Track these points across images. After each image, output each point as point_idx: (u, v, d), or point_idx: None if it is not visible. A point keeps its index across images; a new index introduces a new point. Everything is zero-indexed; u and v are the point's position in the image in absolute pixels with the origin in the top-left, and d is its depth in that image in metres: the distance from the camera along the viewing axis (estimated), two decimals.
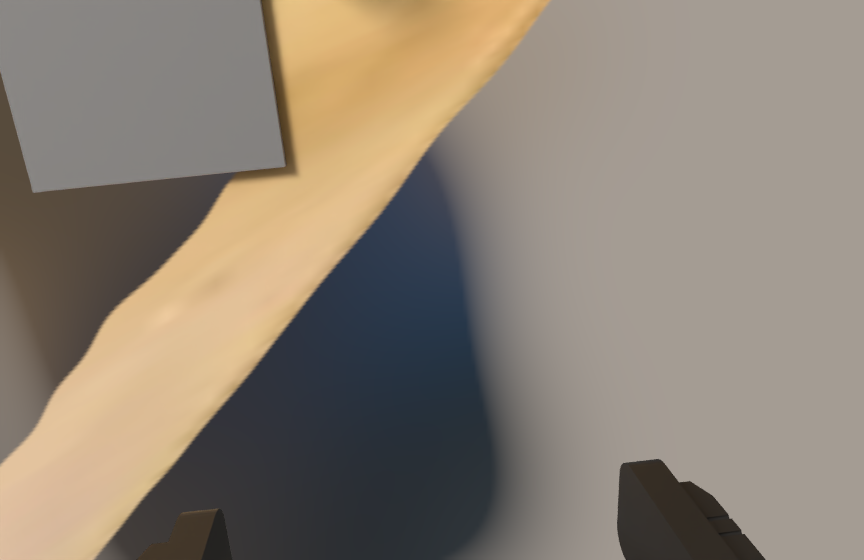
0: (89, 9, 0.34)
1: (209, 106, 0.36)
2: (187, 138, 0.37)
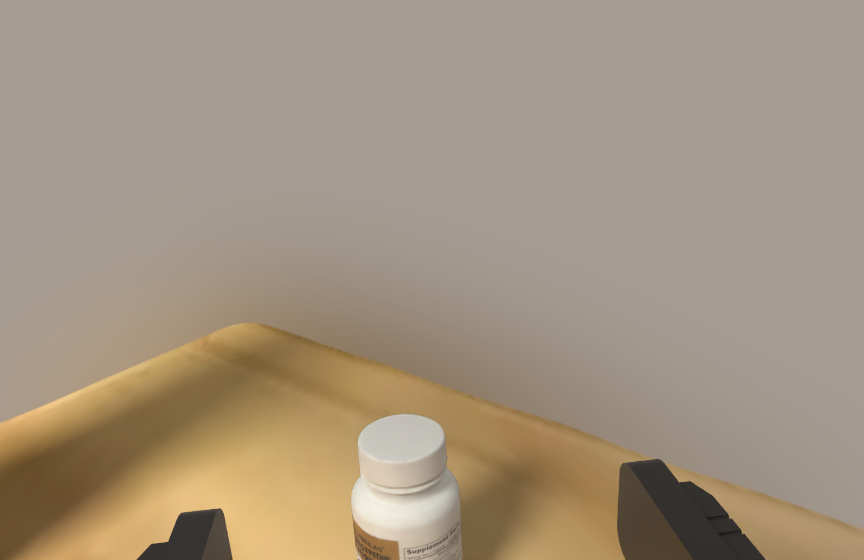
0: None
1: None
2: None
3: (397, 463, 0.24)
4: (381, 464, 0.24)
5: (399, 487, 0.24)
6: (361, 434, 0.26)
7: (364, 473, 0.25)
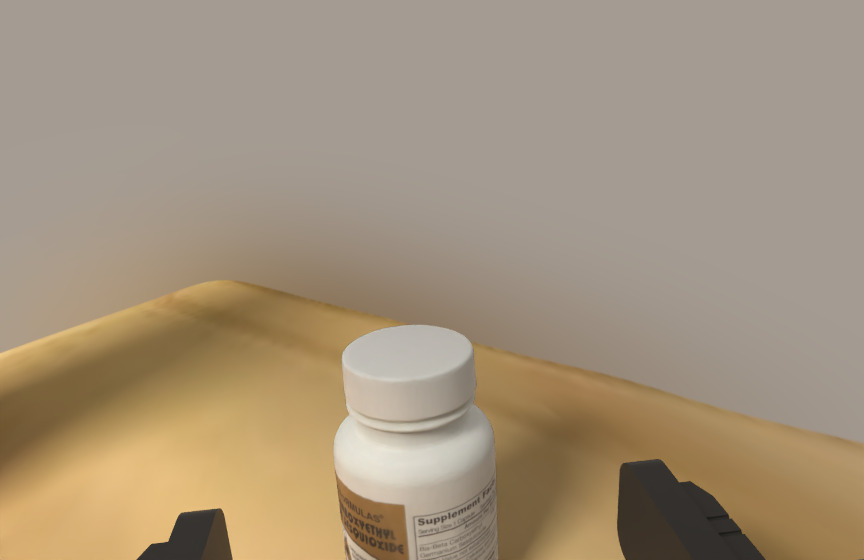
0: None
1: None
2: None
3: (402, 381, 0.15)
4: (377, 384, 0.15)
5: (406, 421, 0.16)
6: (347, 348, 0.17)
7: (351, 403, 0.16)
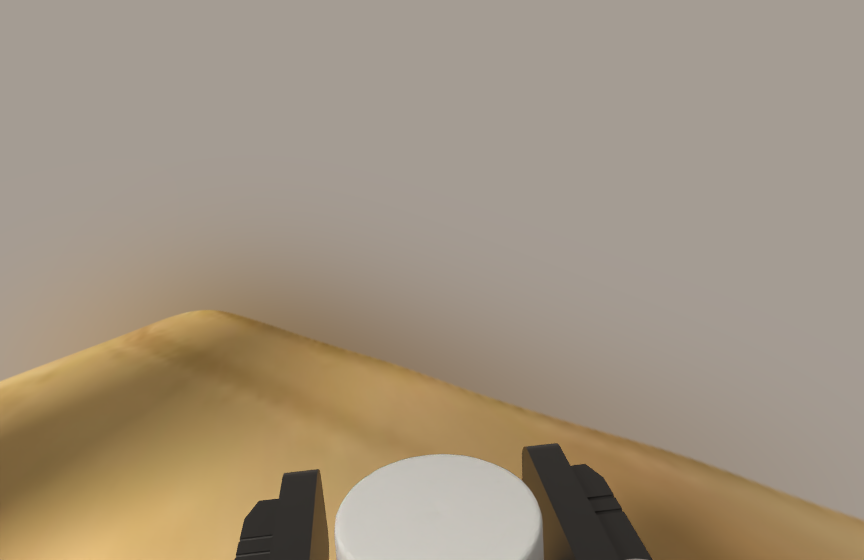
0: None
1: None
2: None
3: None
4: None
5: None
6: (344, 506, 0.11)
7: None
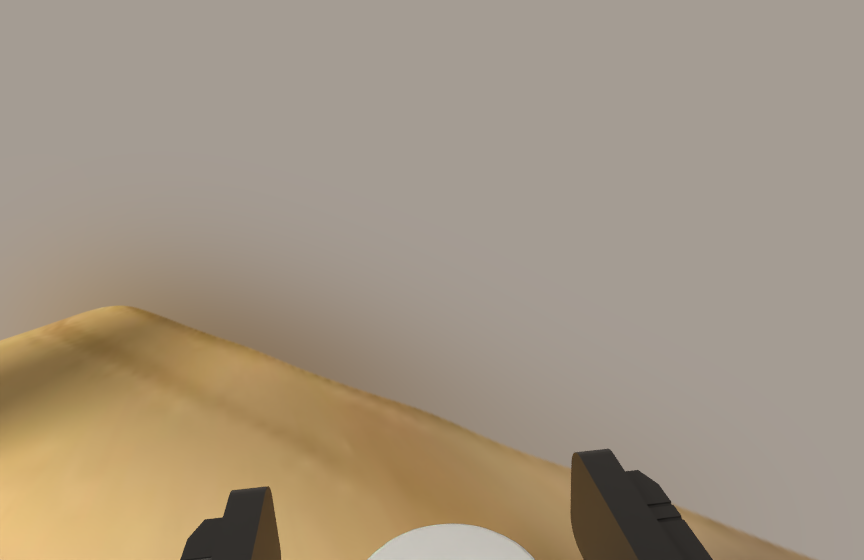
0: None
1: None
2: None
3: None
4: None
5: None
6: None
7: None
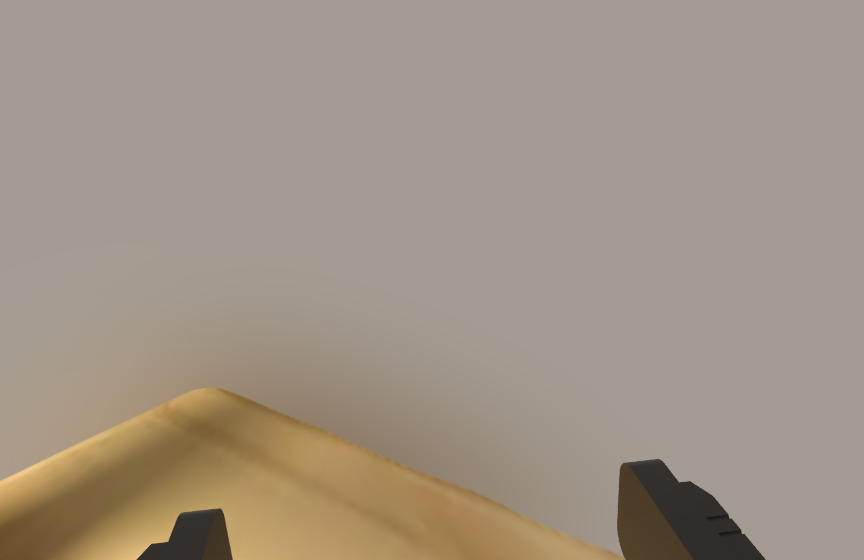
0: None
1: None
2: None
3: None
4: None
5: None
6: None
7: None
